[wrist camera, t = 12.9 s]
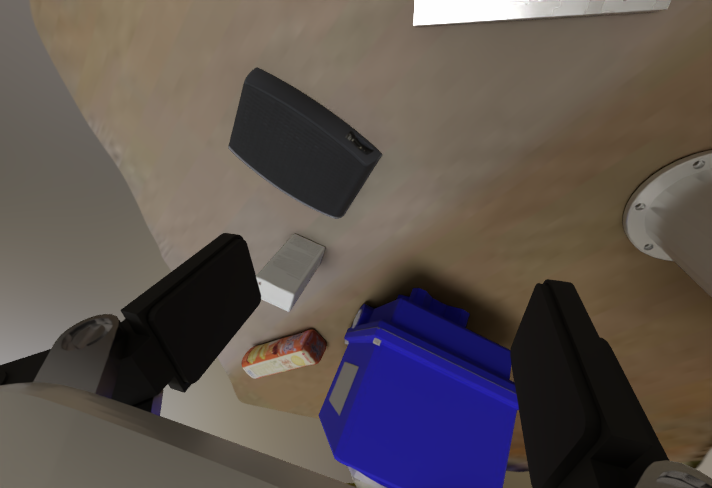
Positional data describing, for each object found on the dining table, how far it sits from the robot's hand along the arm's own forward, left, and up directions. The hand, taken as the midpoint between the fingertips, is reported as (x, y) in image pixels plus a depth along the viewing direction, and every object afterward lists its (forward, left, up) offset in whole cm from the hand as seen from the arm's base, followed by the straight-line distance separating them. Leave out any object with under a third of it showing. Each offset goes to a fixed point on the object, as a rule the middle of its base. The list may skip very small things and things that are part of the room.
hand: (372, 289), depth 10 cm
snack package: (+27, +49, -31) cm, 64 cm away
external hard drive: (+17, +4, -31) cm, 36 cm away
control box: (-3, +38, -31) cm, 49 cm away
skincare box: (+19, +21, -31) cm, 42 cm away
